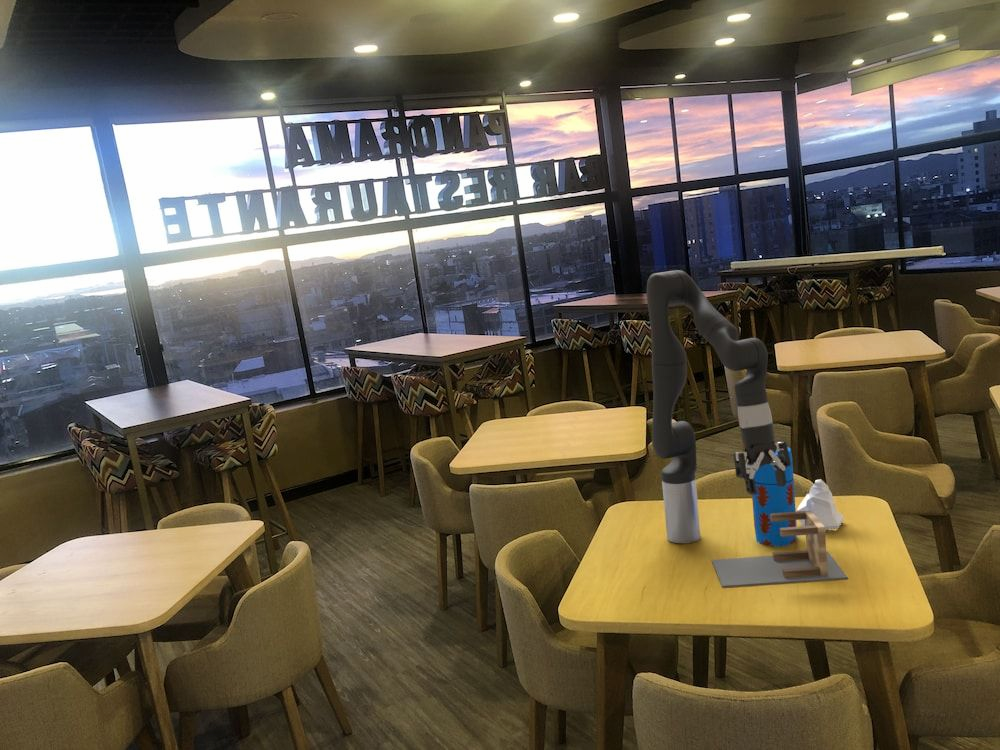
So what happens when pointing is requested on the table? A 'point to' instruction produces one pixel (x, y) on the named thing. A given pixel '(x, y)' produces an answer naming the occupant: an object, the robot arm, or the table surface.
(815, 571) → the stool
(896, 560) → the table surface
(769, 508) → the thermos
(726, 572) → the mat
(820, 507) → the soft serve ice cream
